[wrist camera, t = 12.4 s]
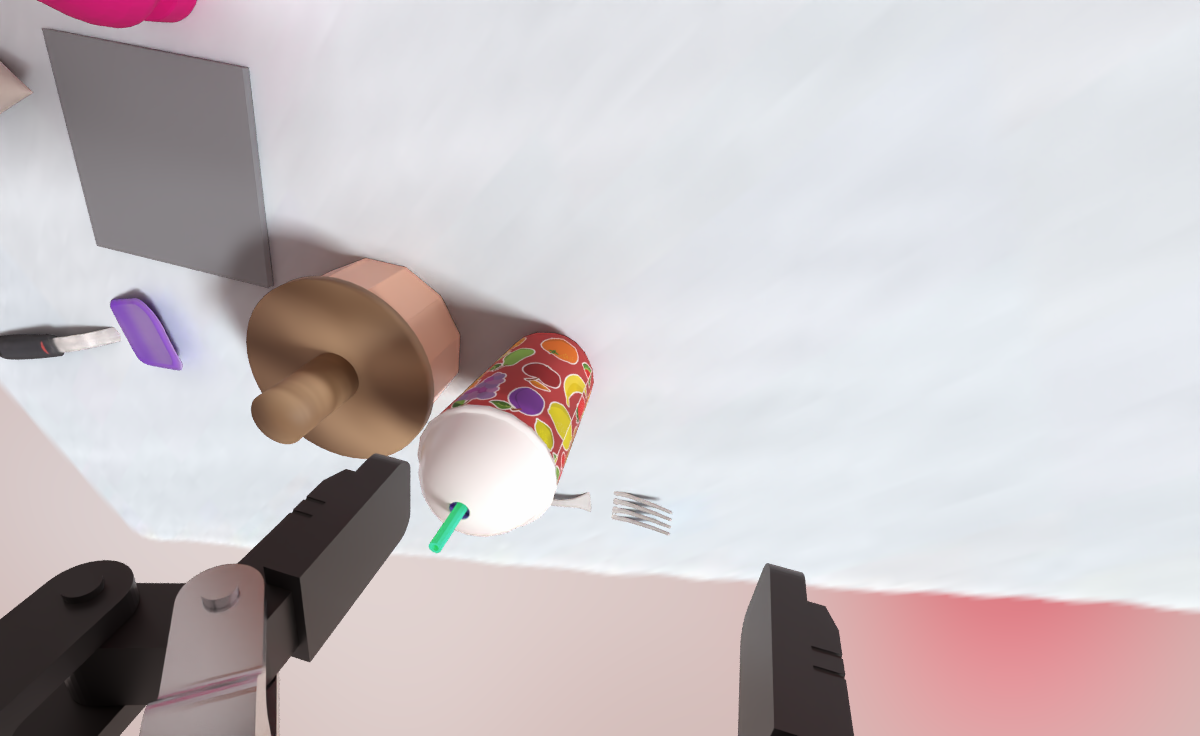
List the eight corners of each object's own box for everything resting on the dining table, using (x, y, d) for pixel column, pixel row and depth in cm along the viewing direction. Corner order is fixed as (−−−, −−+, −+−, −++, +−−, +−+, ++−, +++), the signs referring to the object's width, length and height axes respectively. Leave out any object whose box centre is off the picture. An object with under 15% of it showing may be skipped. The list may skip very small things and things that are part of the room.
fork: (407, 459, 55) (397, 471, 54) (674, 495, 50) (672, 508, 49) (412, 488, 57) (402, 500, 55) (673, 525, 52) (670, 539, 50)
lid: (244, 256, 41) (155, 290, 35) (435, 300, 40) (377, 344, 33) (268, 425, 48) (197, 479, 42) (433, 470, 46) (383, 533, 40)
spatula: (22, 374, 62) (-5, 385, 60) (-18, 311, 59) (-47, 321, 57) (206, 359, 55) (184, 372, 53) (172, 288, 52) (147, 298, 50)
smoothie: (529, 422, 50) (406, 618, 32) (485, 331, 47) (325, 493, 29) (623, 400, 47) (544, 602, 29) (583, 302, 44) (469, 461, 26)
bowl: (311, 245, 47) (255, 268, 42) (462, 280, 45) (424, 309, 40) (322, 383, 53) (274, 418, 48) (456, 418, 51) (422, 459, 46)
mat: (50, 29, 44) (41, 28, 43) (248, 67, 42) (242, 67, 41) (103, 243, 51) (97, 245, 51) (273, 285, 49) (268, 287, 49)
